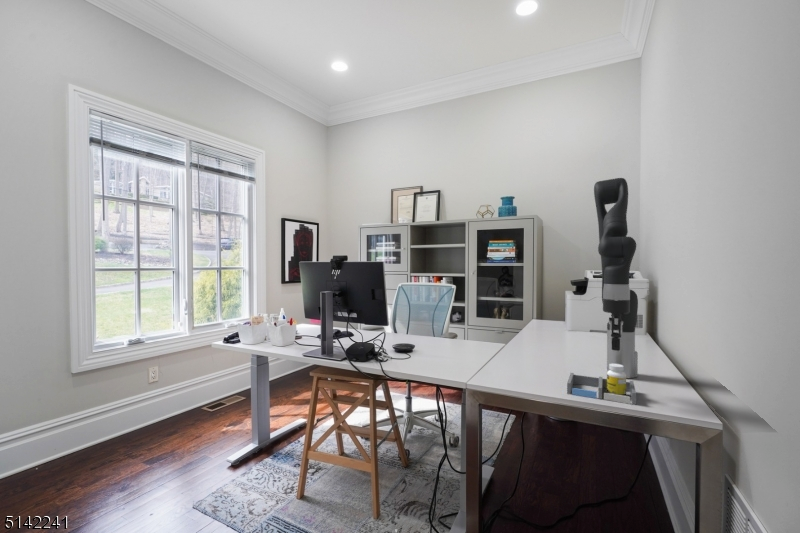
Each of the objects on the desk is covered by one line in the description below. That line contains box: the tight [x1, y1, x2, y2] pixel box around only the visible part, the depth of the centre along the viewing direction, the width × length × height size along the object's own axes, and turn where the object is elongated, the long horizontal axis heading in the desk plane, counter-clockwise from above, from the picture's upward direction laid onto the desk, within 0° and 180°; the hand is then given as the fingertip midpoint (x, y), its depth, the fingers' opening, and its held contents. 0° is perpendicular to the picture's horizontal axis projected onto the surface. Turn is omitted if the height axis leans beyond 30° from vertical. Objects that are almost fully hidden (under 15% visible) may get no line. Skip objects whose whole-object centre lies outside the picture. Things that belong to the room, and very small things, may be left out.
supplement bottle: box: [606, 364, 627, 396], centre depth 117 cm, size 5×5×10 cm
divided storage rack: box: [566, 372, 637, 406], centre depth 119 cm, size 19×13×4 cm
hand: (615, 347), depth 117 cm, fingers open, 8 cm apart
